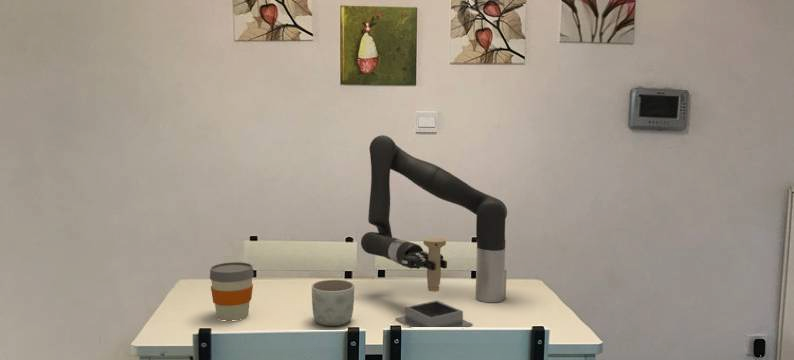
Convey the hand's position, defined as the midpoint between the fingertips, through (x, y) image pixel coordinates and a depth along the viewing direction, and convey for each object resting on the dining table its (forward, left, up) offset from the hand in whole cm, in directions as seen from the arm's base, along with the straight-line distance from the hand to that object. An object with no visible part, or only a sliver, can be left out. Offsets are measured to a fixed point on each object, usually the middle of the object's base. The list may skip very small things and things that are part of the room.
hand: (440, 265), depth 167 cm
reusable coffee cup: (+47, -40, -18) cm, 64 cm away
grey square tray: (0, -3, -18) cm, 18 cm away
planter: (+24, -20, -18) cm, 36 cm away
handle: (0, -3, -8) cm, 9 cm away
